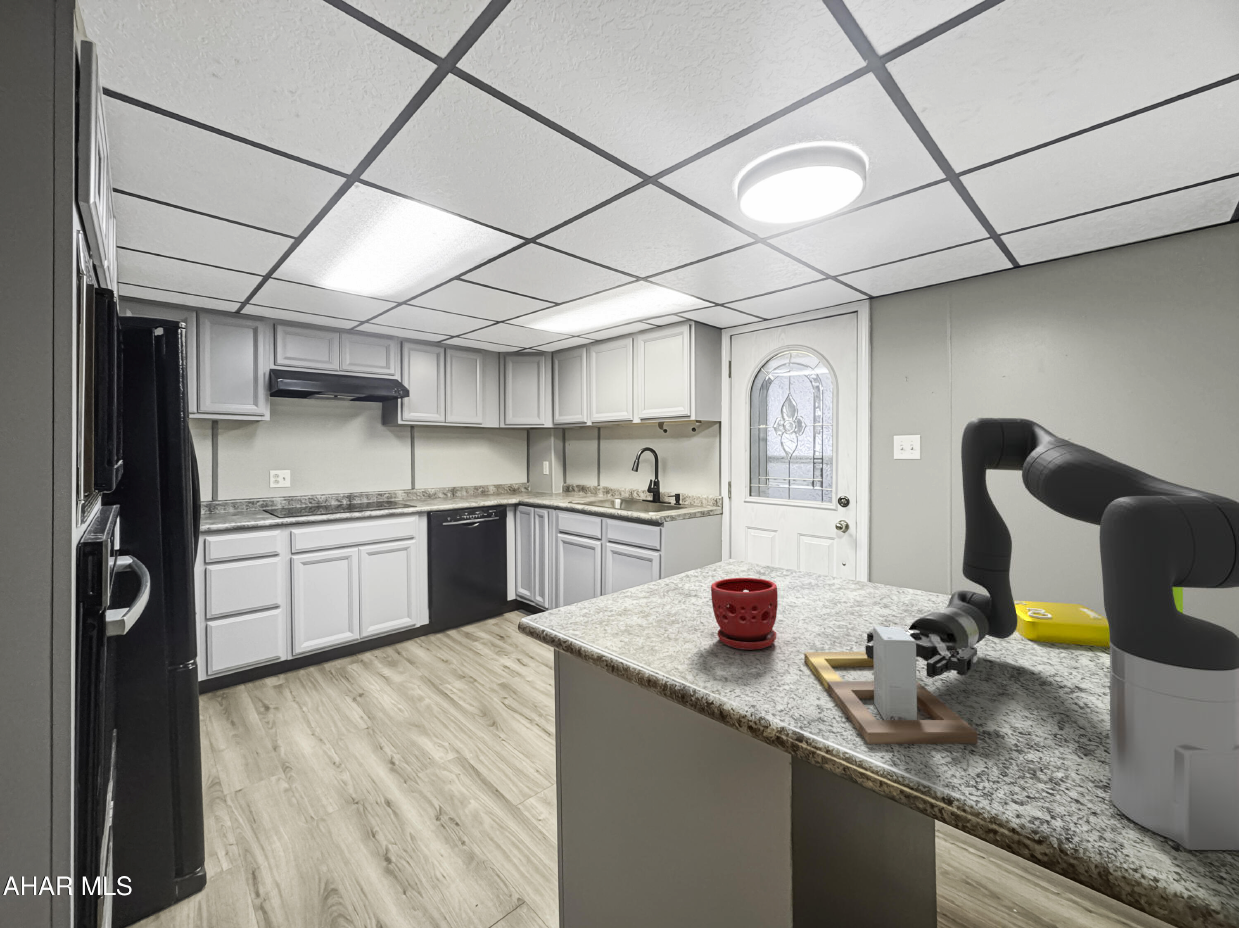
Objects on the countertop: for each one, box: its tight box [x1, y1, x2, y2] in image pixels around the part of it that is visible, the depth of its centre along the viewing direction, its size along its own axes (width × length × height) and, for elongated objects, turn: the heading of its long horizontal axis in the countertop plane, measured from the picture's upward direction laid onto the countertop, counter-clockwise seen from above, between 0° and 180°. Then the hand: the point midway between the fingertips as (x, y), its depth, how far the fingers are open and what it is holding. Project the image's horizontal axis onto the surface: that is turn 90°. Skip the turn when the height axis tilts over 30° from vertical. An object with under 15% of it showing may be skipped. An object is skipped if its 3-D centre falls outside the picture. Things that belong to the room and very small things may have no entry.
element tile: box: [1013, 599, 1110, 648], centre depth 105 cm, size 15×15×5 cm
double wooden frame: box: [803, 650, 979, 745], centre depth 81 cm, size 27×14×2 cm, turn 177°
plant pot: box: [710, 577, 778, 651], centre depth 105 cm, size 13×13×12 cm
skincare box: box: [872, 625, 918, 720], centre depth 75 cm, size 6×4×12 cm
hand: (897, 661), depth 76 cm, fingers open, 8 cm apart
